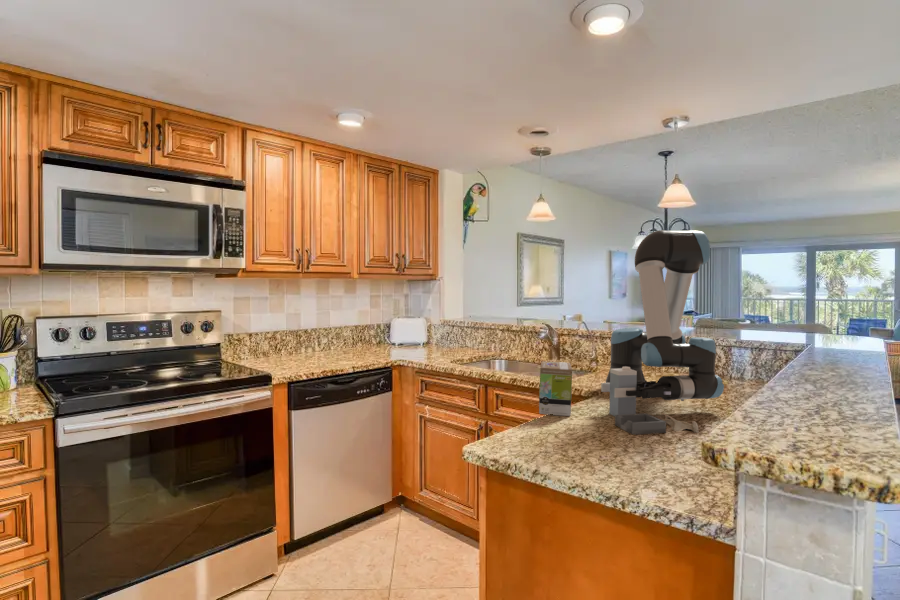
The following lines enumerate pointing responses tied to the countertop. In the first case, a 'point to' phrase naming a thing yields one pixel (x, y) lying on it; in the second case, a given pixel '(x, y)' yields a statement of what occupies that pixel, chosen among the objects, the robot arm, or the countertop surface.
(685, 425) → the fossil
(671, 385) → the robot arm
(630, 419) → the pocket
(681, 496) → the countertop surface
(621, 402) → the grey tall block
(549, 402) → the tea box
